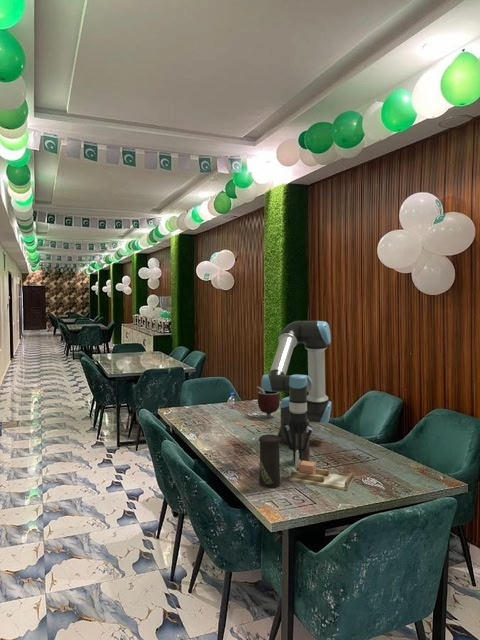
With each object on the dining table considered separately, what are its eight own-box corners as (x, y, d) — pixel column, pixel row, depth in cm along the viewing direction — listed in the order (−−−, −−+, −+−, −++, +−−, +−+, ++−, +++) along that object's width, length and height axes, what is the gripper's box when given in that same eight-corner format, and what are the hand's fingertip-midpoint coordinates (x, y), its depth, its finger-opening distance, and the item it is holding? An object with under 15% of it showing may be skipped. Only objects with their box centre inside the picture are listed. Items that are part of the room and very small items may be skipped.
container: (257, 480, 192) (257, 433, 191) (278, 479, 193) (278, 432, 192) (260, 489, 184) (260, 439, 183) (282, 488, 184) (282, 438, 183)
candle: (305, 466, 209) (305, 422, 208) (290, 463, 212) (290, 420, 212) (312, 461, 215) (312, 418, 214) (297, 458, 219) (297, 416, 218)
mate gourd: (283, 418, 293) (283, 386, 292) (273, 423, 282) (273, 390, 281) (262, 414, 302) (262, 384, 301) (251, 419, 290) (251, 388, 289)
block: (298, 475, 194) (298, 464, 194) (302, 471, 198) (302, 460, 198) (312, 478, 191) (312, 466, 191) (316, 474, 196) (316, 462, 196)
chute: (289, 480, 192) (289, 473, 192) (298, 470, 203) (298, 464, 203) (347, 490, 182) (347, 482, 182) (353, 479, 193) (353, 472, 193)
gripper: (280, 411, 195) (280, 467, 196) (310, 415, 189) (310, 471, 190) (286, 408, 202) (286, 461, 203) (315, 411, 196) (315, 465, 197)
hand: (298, 466), depth 196 cm, fingers closed
